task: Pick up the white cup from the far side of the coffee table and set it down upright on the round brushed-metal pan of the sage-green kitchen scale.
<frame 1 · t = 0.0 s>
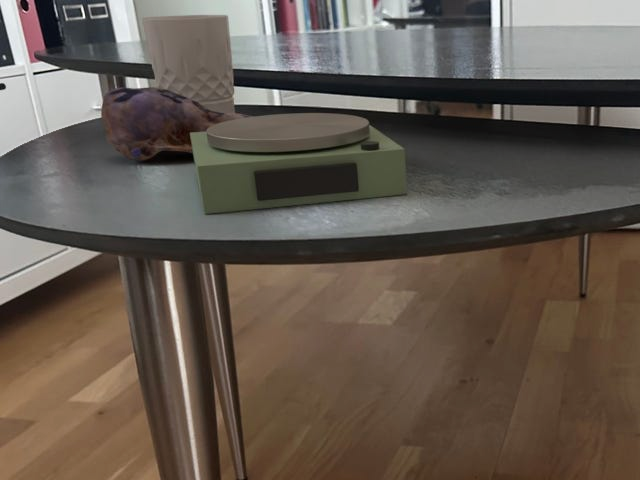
scale: (295, 183, 60), on the table
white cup: (202, 125, 86), on the table
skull: (186, 158, 70), on the table
scale pan: (289, 131, 59), point 4 cm above the table, slide at 0.0 cm
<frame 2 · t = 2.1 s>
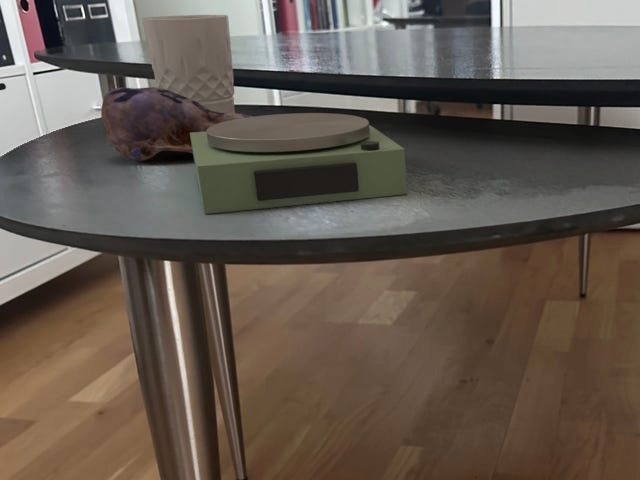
nothing on the table moved.
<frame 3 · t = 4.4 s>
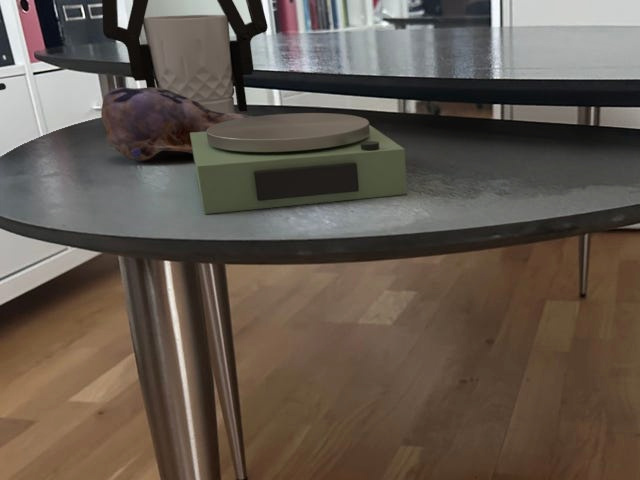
hand: (199, 112, 85), 1 cm above the table, tool pointing down, fingers closed on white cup, 8 cm apart
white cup: (202, 125, 86), on the table, touching gripper
everything else where it was.
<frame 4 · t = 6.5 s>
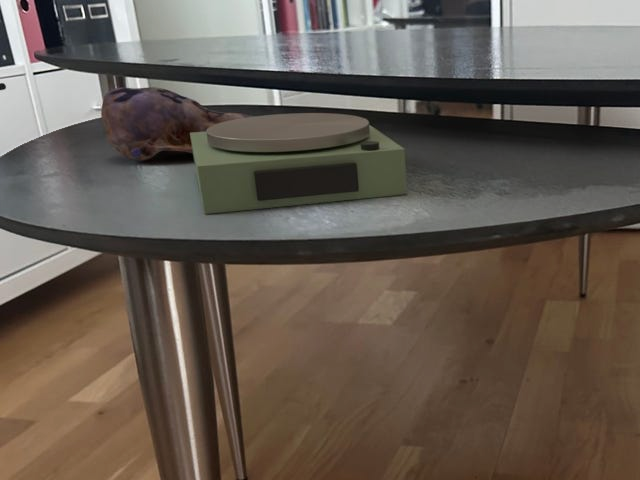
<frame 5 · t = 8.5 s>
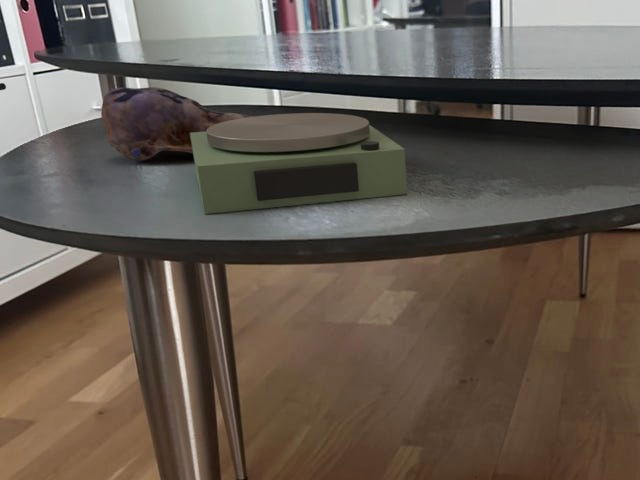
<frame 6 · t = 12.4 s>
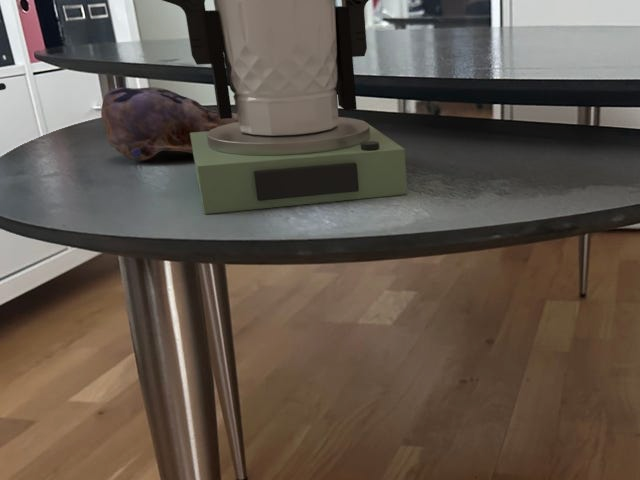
hand: (287, 111, 58), 5 cm above the table, tool pointing down, fingers closed on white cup, 8 cm apart
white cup: (289, 131, 59), point 4 cm above the table, touching gripper, scale pan
scale pan: (289, 134, 59), point 3 cm above the table, slide at -0.2 cm, touching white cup, scale
everything else where it was.
when the fingers open (5 cm above the table, at t = 12.5 s): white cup stays where it is, resting on scale pan.
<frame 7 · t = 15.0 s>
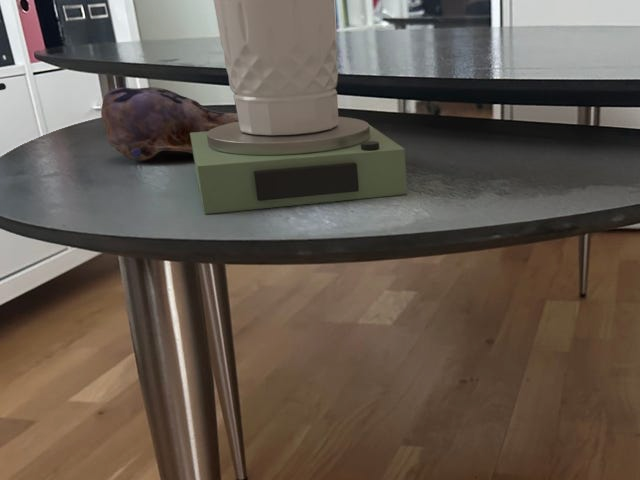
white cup: (289, 130, 59), point 4 cm above the table, touching scale pan
scale pan: (289, 133, 59), point 3 cm above the table, slide at -0.2 cm, touching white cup
everything else where it was.
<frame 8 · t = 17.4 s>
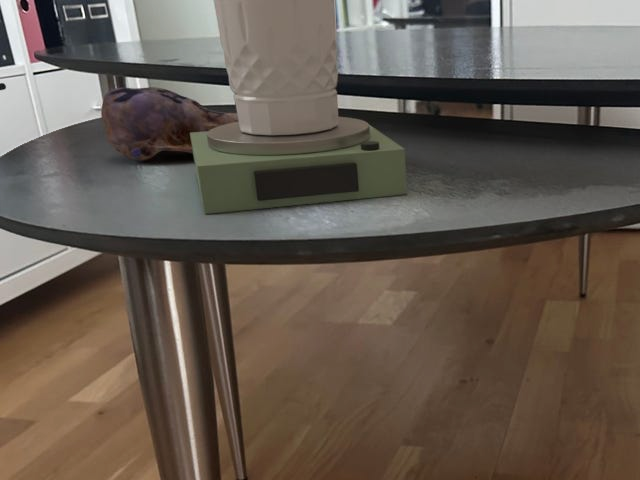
nothing on the table moved.
at the end: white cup inside the target area on the scale (0.0 cm from its centre), point 3.6 cm above the scale's base; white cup tilted 0°; the gripper is holding nothing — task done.
